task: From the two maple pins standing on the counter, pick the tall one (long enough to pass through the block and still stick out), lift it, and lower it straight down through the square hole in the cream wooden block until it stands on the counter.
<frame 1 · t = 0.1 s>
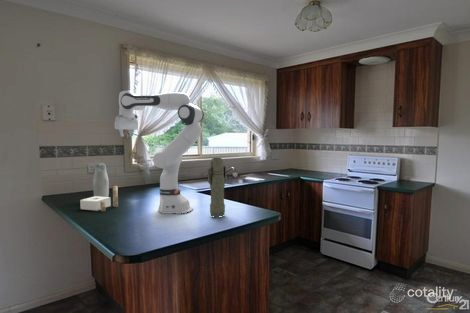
hand: (127, 136, 195), 48 cm above the counter, tool pointing down, fingers open, 8 cm apart
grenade: (217, 216, 175), on the counter
long pin: (115, 206, 199), on the counter
short pin: (103, 210, 187), on the counter
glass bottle: (101, 200, 217), on the counter
hole block: (96, 207, 196), on the counter
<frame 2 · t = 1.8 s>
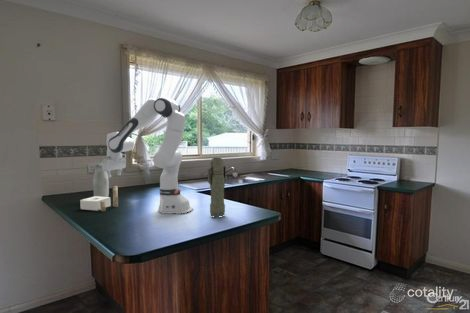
hand: (114, 176, 197), 21 cm above the counter, tool pointing down, fingers open, 8 cm apart
nothing on the counter moved.
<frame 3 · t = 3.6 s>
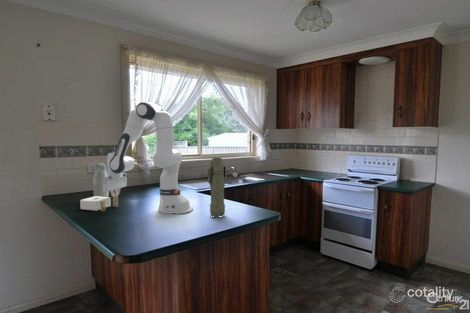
hand: (115, 195, 198), 8 cm above the counter, tool pointing down, fingers closed on long pin, 3 cm apart
long pin: (115, 206, 199), on the counter, touching gripper
everything else where it was.
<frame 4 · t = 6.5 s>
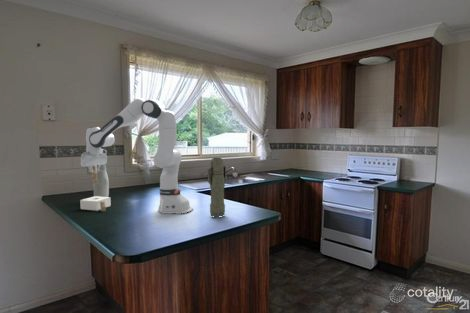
hand: (94, 172, 195), 24 cm above the counter, tool pointing down, fingers closed on long pin, 3 cm apart
long pin: (94, 183, 195), point 16 cm above the counter, touching gripper
everything else where it was.
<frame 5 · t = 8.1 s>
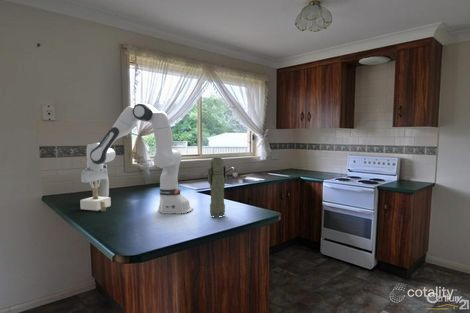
hand: (95, 187, 195), 14 cm above the counter, tool pointing down, fingers closed on long pin, 3 cm apart
long pin: (95, 198, 196), point 6 cm above the counter, touching gripper
everything else where it was.
when the fingers open (9 cm above the counter, at t = 9.4 s): long pin stays where it is, resting in hole block.
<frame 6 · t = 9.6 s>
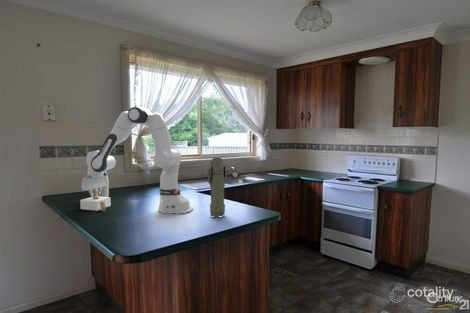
hand: (95, 194, 196), 9 cm above the counter, tool pointing down, fingers open, 5 cm apart
long pin: (96, 207, 196), resting in hole block
everything else where it was.
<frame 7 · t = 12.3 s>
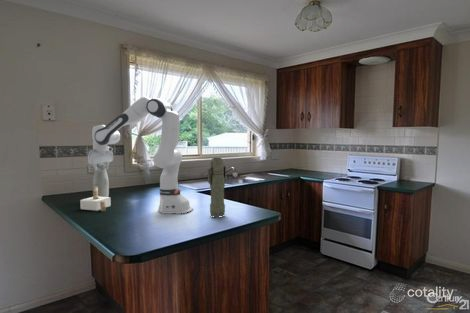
hand: (101, 169, 196), 26 cm above the counter, tool pointing down, fingers open, 8 cm apart
nothing on the counter moved.
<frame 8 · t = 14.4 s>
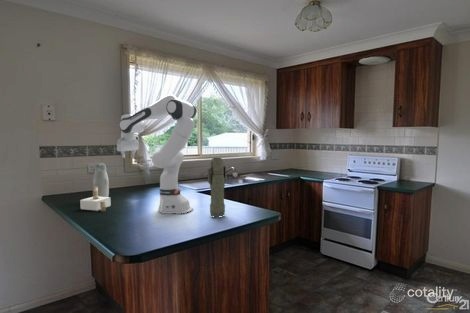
hand: (128, 157, 205), 33 cm above the counter, tool pointing down, fingers open, 8 cm apart
nothing on the counter moved.
at the end: long pin 0.0 cm off-centre on the hole block, point 0.0 cm above the hole block's base; long pin tilted 0°; short pin moved 0.0 cm from its start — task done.
